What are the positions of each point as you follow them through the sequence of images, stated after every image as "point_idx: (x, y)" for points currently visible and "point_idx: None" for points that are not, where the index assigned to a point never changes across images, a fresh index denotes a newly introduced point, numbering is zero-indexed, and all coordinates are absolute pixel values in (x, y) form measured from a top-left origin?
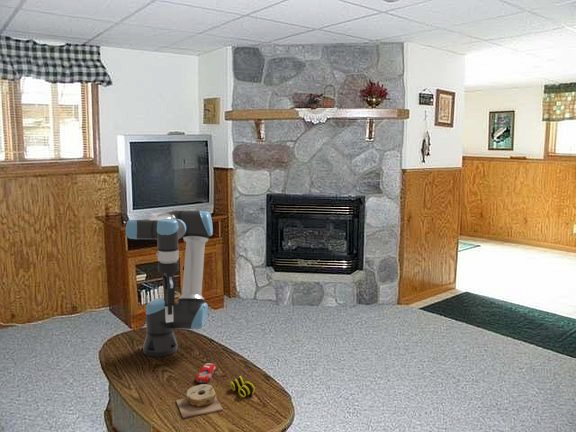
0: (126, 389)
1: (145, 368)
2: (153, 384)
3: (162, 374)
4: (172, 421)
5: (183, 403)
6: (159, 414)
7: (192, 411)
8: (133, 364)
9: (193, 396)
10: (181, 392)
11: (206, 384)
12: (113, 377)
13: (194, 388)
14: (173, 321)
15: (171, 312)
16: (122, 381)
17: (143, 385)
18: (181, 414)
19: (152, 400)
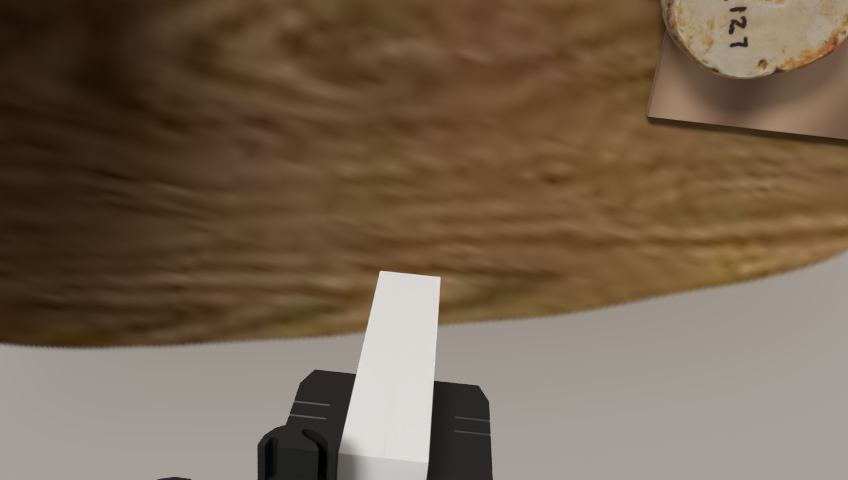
0: (358, 315)
1: (126, 162)
2: (366, 174)
3: (252, 87)
4: (835, 195)
5: (716, 89)
6: (720, 234)
7: (840, 69)
8: (45, 213)
9: (783, 41)
10: (555, 47)
11: None
12: (186, 342)
13: (699, 1)
14: (439, 279)
15: (489, 423)
16: (254, 313)
17: (352, 227)
18: (812, 133)
19: (552, 228)
